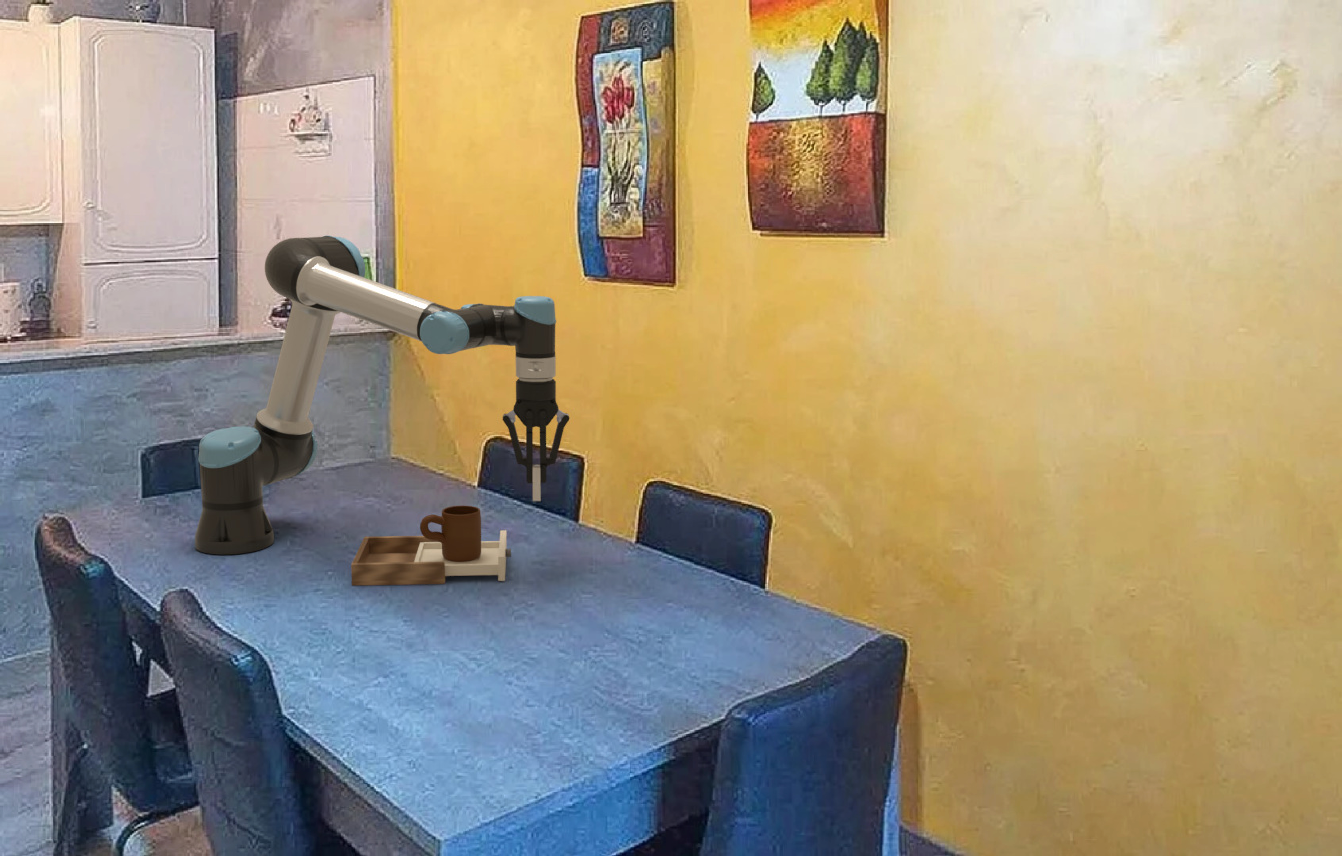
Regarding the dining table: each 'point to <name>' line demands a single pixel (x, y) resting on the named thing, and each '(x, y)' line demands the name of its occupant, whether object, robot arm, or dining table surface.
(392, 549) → the frame
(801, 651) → the dining table surface
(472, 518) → the mug
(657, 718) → the dining table surface
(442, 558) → the drawer
